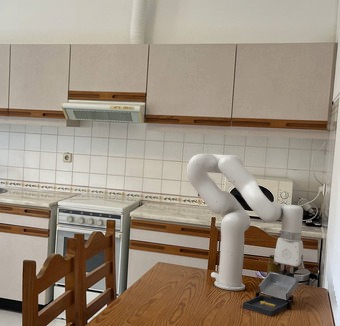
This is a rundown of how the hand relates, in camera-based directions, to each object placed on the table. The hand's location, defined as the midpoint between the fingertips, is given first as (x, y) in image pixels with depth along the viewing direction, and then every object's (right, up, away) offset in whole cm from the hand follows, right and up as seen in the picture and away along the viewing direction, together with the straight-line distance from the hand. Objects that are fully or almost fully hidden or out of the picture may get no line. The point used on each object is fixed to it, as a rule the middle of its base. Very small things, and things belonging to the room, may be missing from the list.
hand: (287, 281), depth 198 cm
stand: (-5, -7, -5) cm, 10 cm away
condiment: (+3, -6, +21) cm, 22 cm away
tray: (-13, -7, -13) cm, 20 cm away
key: (-11, -6, -11) cm, 17 cm away
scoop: (-3, -1, -3) cm, 5 cm away
